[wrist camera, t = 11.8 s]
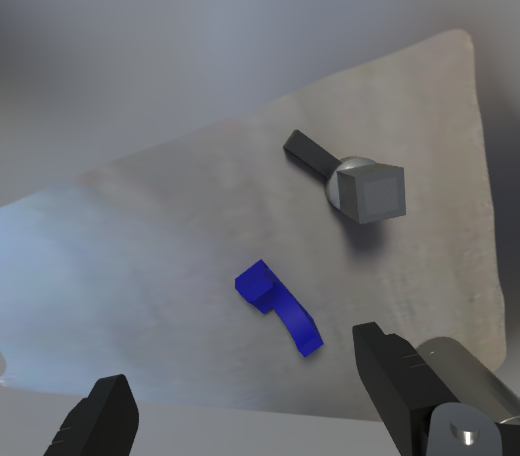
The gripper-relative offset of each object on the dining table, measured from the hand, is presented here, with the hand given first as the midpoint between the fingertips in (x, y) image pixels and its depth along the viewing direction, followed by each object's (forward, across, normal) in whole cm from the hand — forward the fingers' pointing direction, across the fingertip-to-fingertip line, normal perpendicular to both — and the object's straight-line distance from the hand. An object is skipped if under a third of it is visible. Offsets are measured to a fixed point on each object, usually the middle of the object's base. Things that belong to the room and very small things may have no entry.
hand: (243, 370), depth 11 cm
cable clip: (+30, -2, +15) cm, 34 cm away
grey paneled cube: (+28, -15, +1) cm, 31 cm away
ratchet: (+30, -13, -2) cm, 33 cm away
